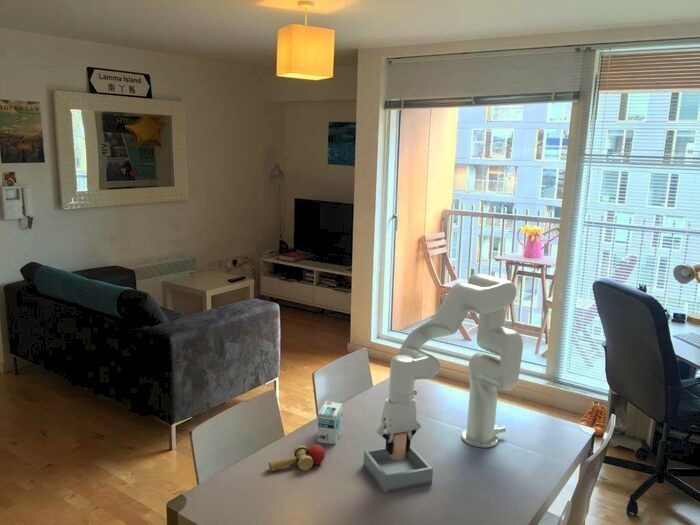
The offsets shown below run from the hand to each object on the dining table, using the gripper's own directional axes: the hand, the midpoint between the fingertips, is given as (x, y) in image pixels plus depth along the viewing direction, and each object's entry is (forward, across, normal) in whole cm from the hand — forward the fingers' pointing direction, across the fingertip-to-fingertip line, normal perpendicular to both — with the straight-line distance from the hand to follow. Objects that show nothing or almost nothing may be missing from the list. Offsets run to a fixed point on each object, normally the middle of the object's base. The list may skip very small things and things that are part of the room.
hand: (397, 450), depth 176 cm
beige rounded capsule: (+2, 0, 0) cm, 2 cm away
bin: (+8, 0, 0) cm, 8 cm away
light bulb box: (+8, +12, -29) cm, 32 cm away
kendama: (+9, +28, -14) cm, 33 cm away
